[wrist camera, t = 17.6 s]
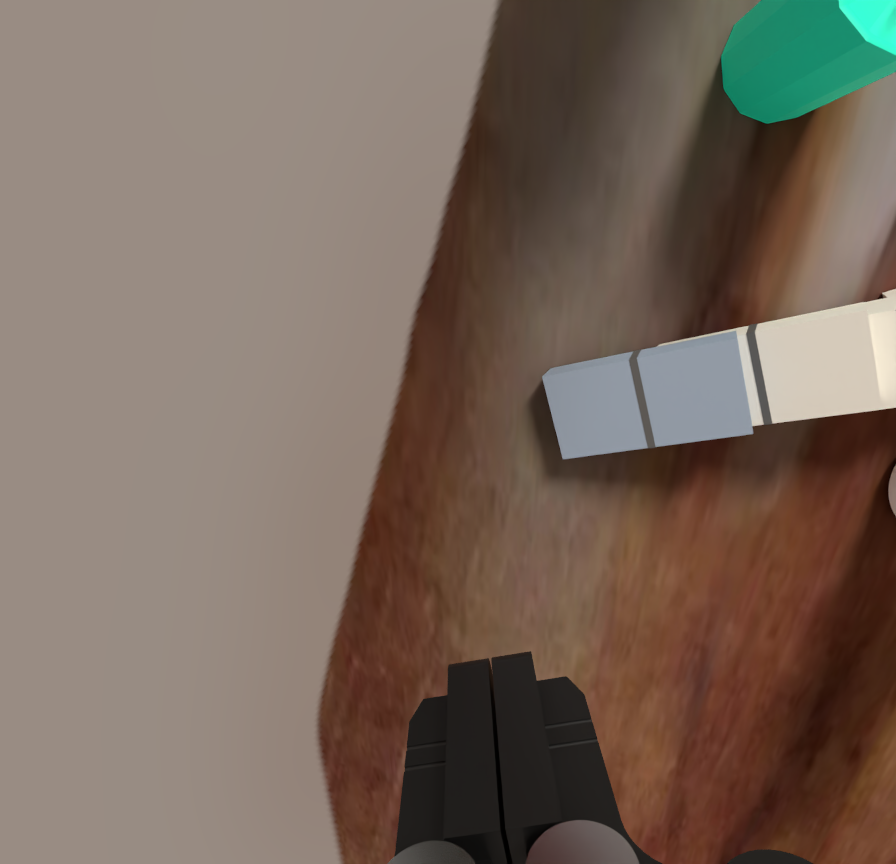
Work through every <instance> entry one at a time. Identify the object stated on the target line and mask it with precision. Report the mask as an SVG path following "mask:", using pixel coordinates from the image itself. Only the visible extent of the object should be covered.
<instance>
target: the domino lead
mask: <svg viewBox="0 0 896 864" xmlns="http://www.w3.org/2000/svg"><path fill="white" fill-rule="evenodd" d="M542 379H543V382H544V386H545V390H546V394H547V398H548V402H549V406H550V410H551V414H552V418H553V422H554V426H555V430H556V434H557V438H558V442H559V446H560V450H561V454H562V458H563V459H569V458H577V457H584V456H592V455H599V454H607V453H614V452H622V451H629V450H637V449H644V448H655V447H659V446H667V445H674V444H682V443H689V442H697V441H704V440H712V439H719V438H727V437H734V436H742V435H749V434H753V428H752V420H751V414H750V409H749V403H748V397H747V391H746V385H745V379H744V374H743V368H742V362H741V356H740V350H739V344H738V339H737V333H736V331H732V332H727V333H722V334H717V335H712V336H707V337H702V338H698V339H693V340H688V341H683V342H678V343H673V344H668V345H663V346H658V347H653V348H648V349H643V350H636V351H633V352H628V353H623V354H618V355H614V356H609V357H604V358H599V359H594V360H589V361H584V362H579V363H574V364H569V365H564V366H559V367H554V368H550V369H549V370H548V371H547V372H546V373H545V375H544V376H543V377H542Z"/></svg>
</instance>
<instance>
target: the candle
mask: <svg viewBox="0 0 896 864" xmlns="http://www.w3.org/2000/svg"><path fill="white" fill-rule="evenodd" d="M721 64H722V77H723V89H724V91H725V92H726V94H727V95H728V97H729V98H730V99H731V101H732V102H733V104H734V105H735V107H736V108H737V110H738V111H739V113H740V114H743V115H745V116H748V117H750V118H753V119H756V120H758V121H761V122H763V123H766V124H769V123H773V122H778V121H783V120H788V119H793V118H797V117H799V116H801V115H804V114H806V113H808V112H810V111H812V110H814V109H817V108H819V107H821V106H823V105H825V104H827V103H829V102H832V101H834V100H836V99H838V98H840V97H842V96H845V95H847V94H849V93H851V92H853V91H855V90H858V89H860V88H862V87H864V86H866V85H868V84H870V83H873V82H875V81H877V80H879V79H881V78H883V77H886V76H888V75H890V74H892V73H894V72H896V0H761V1H760V2H759V3H758V4H757V5H756V6H755V7H754V8H752V9H751V10H750V11H749V12H748V13H747V14H746V15H745V16H744V17H742V18H741V19H740V20H739V21H738V22H737V23H736V24H735V25H734V26H733V29H732V31H731V34H730V36H729V39H728V41H727V43H726V46H725V48H724V51H723V53H722V56H721Z"/></svg>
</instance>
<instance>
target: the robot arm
mask: <svg viewBox="0 0 896 864" xmlns="http://www.w3.org/2000/svg"><path fill="white" fill-rule="evenodd" d="M492 672H493V674H492ZM388 864H662V863H660V862H658V861H656V860H654V859H653V858H651V857H650V856H648V855H647V854H646V853H644V852H643V851H642V850H641V849H640V848H639V847H638V846H637V845H636V844H635V843H634V842H633V841H632V839H631V838H630V837H629V835H628V834H627V832H626V830H625V829H624V826H623V824H622V821H621V818H620V815H619V811H618V808H617V805H616V801H615V798H614V794H613V791H612V787H611V784H610V781H609V777H608V774H607V770H606V767H605V764H604V760H603V757H602V753H601V750H600V747H599V743H598V741H597V736H596V733H595V729H594V726H593V723H592V720H591V716H590V712H589V709H588V706H587V702H586V699H585V695H584V694H583V693H582V692H581V691H580V690H579V689H578V688H577V687H576V686H575V685H574V684H573V683H572V682H571V681H570V680H569V679H568V678H567V677H559V678H553V679H547V680H540V681H536V675H535V670H534V665H533V659H532V654H531V651H530V652H524V653H518V654H511V655H505V656H499V657H493V658H492V670H491V665H490V661H489V659H481V660H475V661H469V662H463V663H456V664H450V665H449V667H448V694H447V695H446V696H440V697H434V698H427V699H423V701H422V702H421V704H420V706H419V707H418V709H417V710H416V712H415V714H414V715H413V717H412V719H411V720H410V723H409V732H408V741H407V751H406V759H405V772H404V777H403V787H402V796H401V805H400V814H399V823H398V832H397V841H396V851H395V856H394V858H393V859H392V860H390V862H389V863H388ZM727 864H813V863H811V862H809V861H807V860H805V859H803V858H801V857H798V856H796V855H793V854H790V853H786V852H782V851H776V850H754V851H749V852H746V853H743V854H740V855H738V856H736V857H735V858H733V859H732V860H730V861H729V862H728V863H727Z"/></svg>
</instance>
